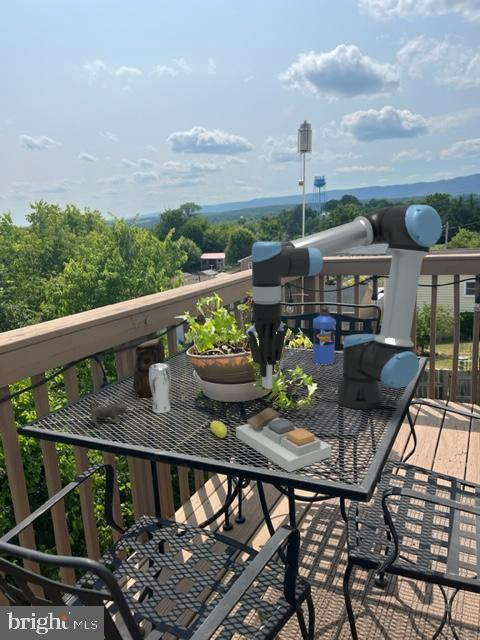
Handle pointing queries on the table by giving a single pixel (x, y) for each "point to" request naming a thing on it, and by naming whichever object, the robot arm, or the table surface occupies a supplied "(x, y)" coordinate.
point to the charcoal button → (281, 426)
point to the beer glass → (160, 387)
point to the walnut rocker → (263, 418)
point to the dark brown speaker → (146, 365)
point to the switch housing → (283, 447)
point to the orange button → (300, 437)
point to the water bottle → (323, 337)
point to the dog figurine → (107, 412)
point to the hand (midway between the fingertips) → (267, 387)
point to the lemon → (218, 429)
